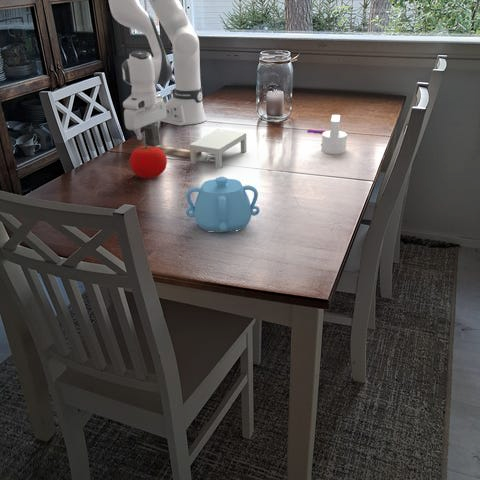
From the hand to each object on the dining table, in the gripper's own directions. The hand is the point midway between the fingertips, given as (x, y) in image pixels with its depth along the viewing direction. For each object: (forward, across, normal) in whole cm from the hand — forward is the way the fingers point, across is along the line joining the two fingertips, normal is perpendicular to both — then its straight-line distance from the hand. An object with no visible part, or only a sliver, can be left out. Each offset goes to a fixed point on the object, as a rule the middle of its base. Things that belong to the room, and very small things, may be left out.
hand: (148, 135), depth 194 cm
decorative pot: (+6, +40, +58) cm, 70 cm away
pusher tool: (+6, -1, +10) cm, 12 cm away
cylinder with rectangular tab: (+5, -31, +62) cm, 70 cm away
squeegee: (+6, -47, +50) cm, 69 cm away
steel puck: (+6, -1, +28) cm, 29 cm away
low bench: (+5, -5, +28) cm, 29 cm away
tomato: (+6, +21, +17) cm, 28 cm away
